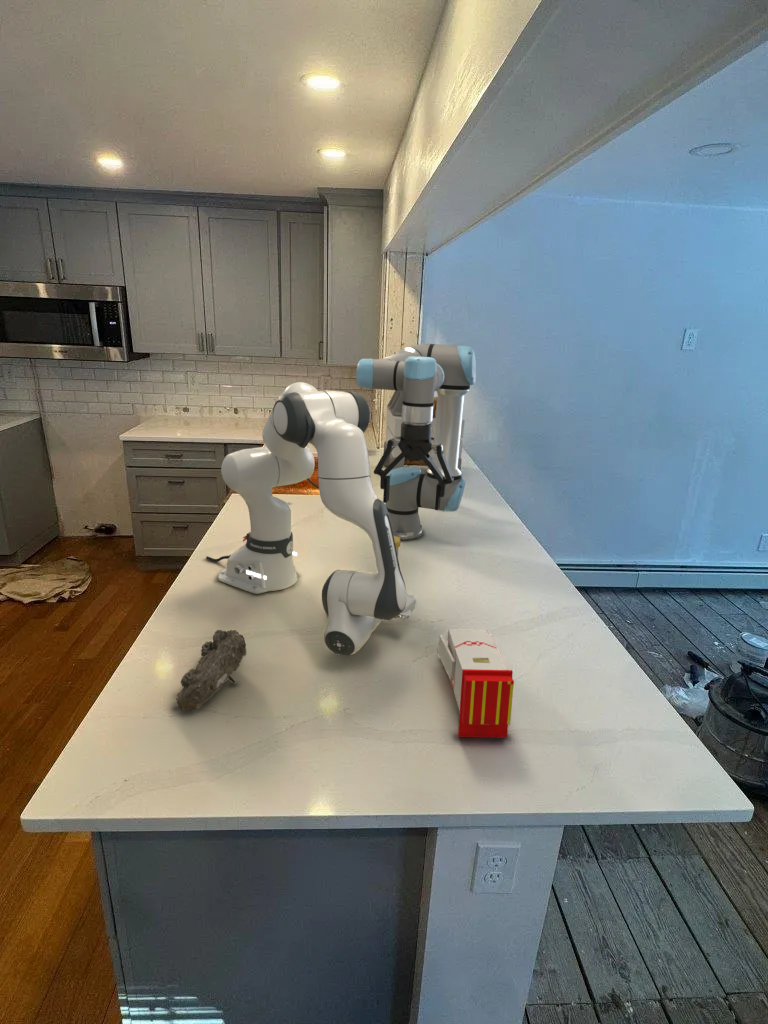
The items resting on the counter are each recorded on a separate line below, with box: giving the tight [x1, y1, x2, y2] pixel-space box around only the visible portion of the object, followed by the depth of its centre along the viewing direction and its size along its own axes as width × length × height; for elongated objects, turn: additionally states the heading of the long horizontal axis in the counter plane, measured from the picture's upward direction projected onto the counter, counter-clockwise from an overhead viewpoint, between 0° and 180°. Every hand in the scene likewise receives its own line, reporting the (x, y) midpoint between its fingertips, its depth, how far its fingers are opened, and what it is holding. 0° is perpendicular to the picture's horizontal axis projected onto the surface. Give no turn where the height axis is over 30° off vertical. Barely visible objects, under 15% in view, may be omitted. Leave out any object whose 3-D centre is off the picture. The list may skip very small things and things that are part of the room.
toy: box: [437, 628, 515, 738], centre depth 117 cm, size 12×13×30 cm
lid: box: [394, 536, 402, 549], centre depth 146 cm, size 5×5×2 cm
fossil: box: [175, 629, 247, 711], centre depth 117 cm, size 22×10×15 cm
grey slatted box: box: [383, 390, 465, 472], centre depth 268 cm, size 34×33×41 cm
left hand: (384, 586), depth 148 cm, fingers open, 8 cm apart
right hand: (411, 505), depth 145 cm, fingers open, 13 cm apart
